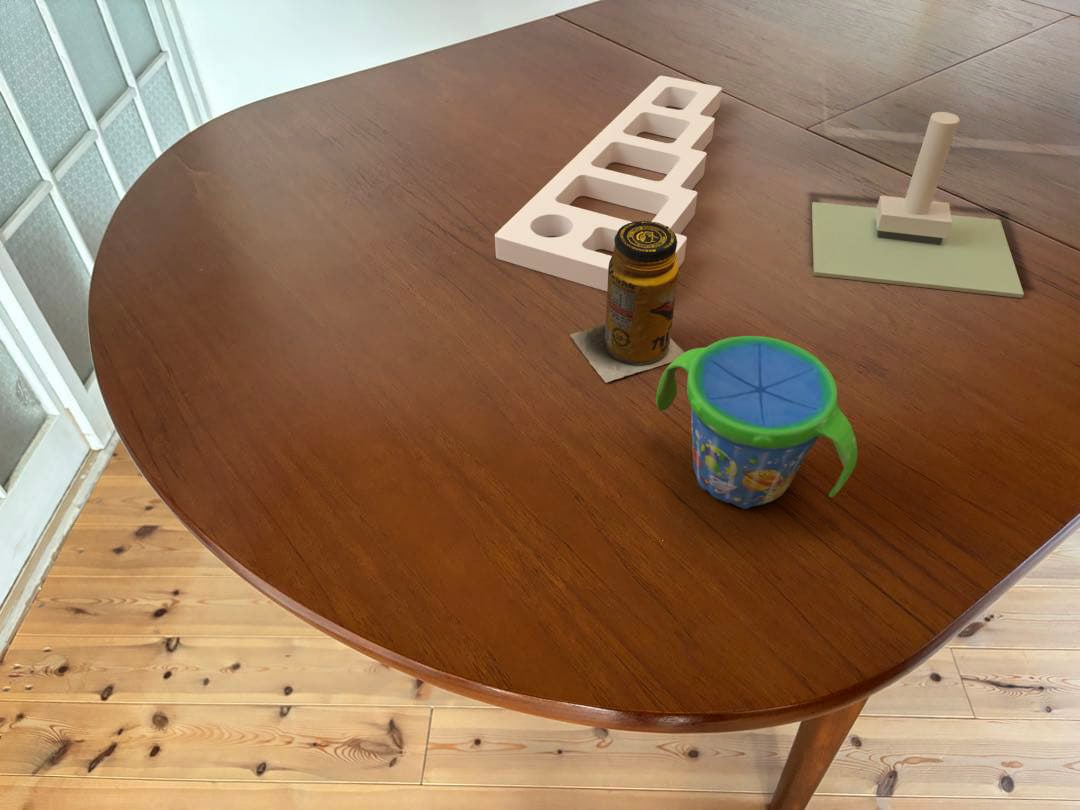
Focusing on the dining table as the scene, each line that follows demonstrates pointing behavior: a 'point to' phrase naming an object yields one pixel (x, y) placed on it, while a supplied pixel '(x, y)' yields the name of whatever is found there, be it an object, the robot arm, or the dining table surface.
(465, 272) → the dining table surface
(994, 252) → the mat
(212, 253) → the dining table surface
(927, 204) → the brush
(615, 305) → the condiment
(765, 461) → the snack cup
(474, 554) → the dining table surface
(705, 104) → the holder
